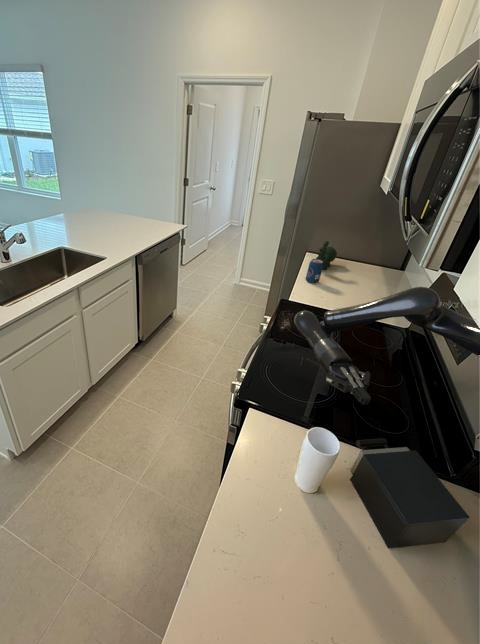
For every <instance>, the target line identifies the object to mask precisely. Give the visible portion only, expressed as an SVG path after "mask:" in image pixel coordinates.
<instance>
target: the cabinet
mask: <svg viewBox="0 0 480 644" xmlns="http://www.w3.org/2000/svg"><path fill="white" fill-rule="evenodd" d="M349 480H350V482H351V484H352V486H353V488H354V490H355V491H356V493H357V495H358V497H359V498H360V501H361V502H362V504H363V507H364V508H365V509H366V511H367V514H368V515H369V517H370V519H371V520H372V522H373V524H374V526H375V528H376V530H377V531H378V533H379V535H380V537H381V539H382V540H383V542H384V544H385V546H386V547H387V550H389V549H398V548H407V547H417V546H425V545H434V544H443V543H447V542H448V541H449V540H450V538H451V537H452V536H453V535H454V534H456V532H457V531H458V530H459V529H460V528H461V527H462V526H463V525H464V524H465V523H466V522H467V521H468V520H469V519H470V516H469V515H468V513H467V512H466V511H465V509H464V508H463V507H462V506H461V504H460V502H458V501H457V499H456V498H455V497H454V495H452V493H451V492H450V491H449V489H447V487H446V486H445V485H444V484H443V482H442V481H441V480H440V479H439V477H438V476H437V474H435V472H434V471H433V470H432V469H431V467H430V466H429V464H427V461H425V460H424V459H423V458H422V456H421V455H420V453H419V452H418V451H417V450H415V449H414V450H410V451H401V452H388V453H374V454H363V457H362V458H361V460H360V462H359V464H358V466H357V467H356V469H355V471H354V473H353V475H352V474H351V477H350V478H349Z"/></svg>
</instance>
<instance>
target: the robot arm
mask: <svg viewBox="0 0 480 644" xmlns="http://www.w3.org/2000/svg"><path fill="white" fill-rule="evenodd" d="M390 318H391V319H392V318H404V319H405V320H406V321H407V322H409V323H411V324H413V325H415V326H417V327H420V328H423V329H425V330H427V331H429V332H432V333H435V334H437V335H439V336H441V337H443V338H445V339H447V340H449V341H451V342H453V343H455V344H456V345H458V346H459V347H461V348H463V349H465V350H467V351H468V352H470V353H471V354H473V355H475V356H477V357H479V356H478V355H480V328H478V326H477V325H476V323H475V322H474V320H475V319H474V318H471V317H467V316H465V315H463V314H461V313H458V312H457V311H455V310H453V309H451V308H449V307H447V306H445V305H444V304H442V303H441V298H440V296H439V294H438V293H437V291H435V290H434V289H432V288H430V287H426V286H416V287H411V288H407V289H405V290H402V291H400V292H397V293H394V294H391V295H388V296H384V297H382V298H378V299H375V300H371V301H367V302H364V303H360V304H356V305H351V306H346V307H341V308H335V309H331V310H327V311H326V312H324V313H323V320H322V321H319V319H318V318H317V316H316V314H314V313H313V312H312V311H309V310H301V311H298V312H297V313H296V314H295V316H294V318H293V324H294V326H295V328H296V330H297V331H298V334H299V335H300V336H301V338H302V339H304V340H305V341H306V343H307V345H308V347H309V348H310V349H311V351H312V352H313V354H314V356H315V358H316V359H317V361H318V362H319V364H320V365H321V367H322V368H323V369H324V371H325V372H326V375H325V377H324V382H325V383H326V384H328V385H330V386H332V387H334V388H336V389H337V390H339V391H340V392H342V393H344V394H347V393H350V394H351V395H353V396H354V397H355V399H356V401H357V402H359V403H360V404H361V405H362V406H365V405H369V404H370V402H371V399H372V398H371V397H372V396H371V395H370V394H369V393H368V392H367V389H368V387H369V386H370V379H371V372H370V371H368V370H367V371H364V372H363V371H360V369H359V368H358V367H357V366H356V365H354V363H353V360H352V358H351V357H350V356H349V355H348V353H347V352H346V351H345V350H344V349H343V348H342V347H341V345H340V344H339V343H338V342H336V341H335V339H333V337H332V336H331V335H330V334H332V333H335V332H341V331H348V330H353V329H354V330H355V329H358V328H361V327H364V326H367V325H369V324H372V323H375V322H379V321H381V320H382V321H383V320H385V319H390ZM473 319H474V320H473Z"/></svg>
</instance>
